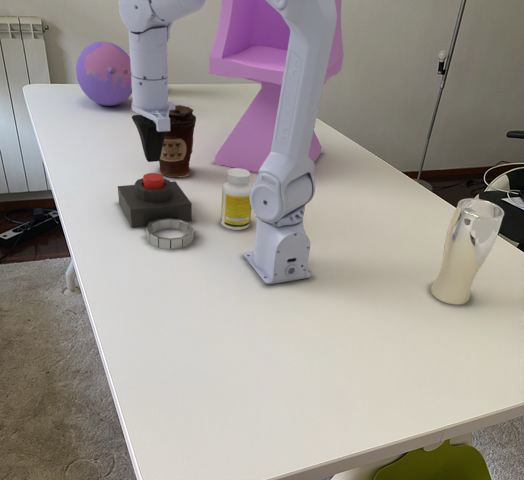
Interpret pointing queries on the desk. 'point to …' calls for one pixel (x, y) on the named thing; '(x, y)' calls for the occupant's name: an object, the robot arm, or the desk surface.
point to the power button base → (153, 203)
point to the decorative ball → (104, 73)
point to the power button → (153, 181)
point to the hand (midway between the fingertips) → (152, 160)
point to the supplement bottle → (236, 200)
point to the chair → (259, 75)
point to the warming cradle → (166, 224)
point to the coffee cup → (178, 143)
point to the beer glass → (466, 248)
